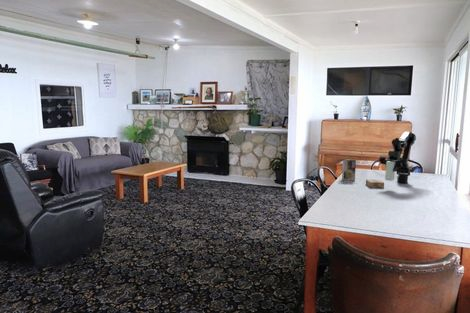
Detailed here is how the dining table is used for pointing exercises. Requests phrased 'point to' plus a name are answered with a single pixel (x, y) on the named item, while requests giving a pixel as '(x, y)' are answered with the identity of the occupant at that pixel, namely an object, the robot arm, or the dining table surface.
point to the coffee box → (348, 169)
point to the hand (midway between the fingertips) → (389, 170)
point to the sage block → (390, 170)
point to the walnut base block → (374, 183)
